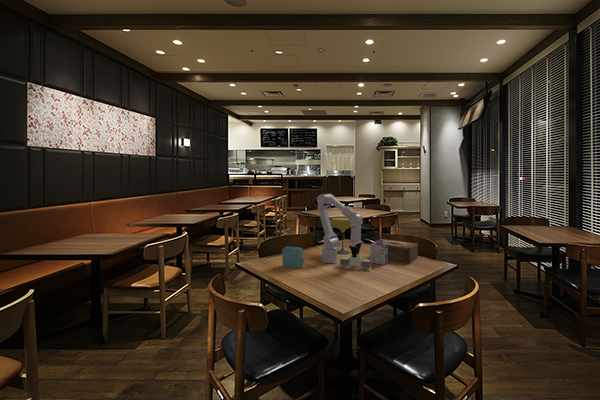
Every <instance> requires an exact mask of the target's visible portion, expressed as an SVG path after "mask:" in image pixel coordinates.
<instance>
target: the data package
mask: <svg viewBox="0 0 600 400" xmlns="http://www.w3.org/2000/svg"><path fill="white" fill-rule="evenodd" d="M281 252H282V255H281V256H282V267H284V268H291V269H299V270H300V269H301V268H302V267H303V266H304V249H303V247H300V246H299V247H298V246H290V245H289V246H288V245H287V246H285V247H283V248H282V251H281Z"/></svg>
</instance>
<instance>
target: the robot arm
mask: <svg viewBox="0 0 600 400" xmlns="http://www.w3.org/2000/svg"><path fill="white" fill-rule="evenodd" d="M316 202H317V211H318V215H319V217H320V218H319V219H320V221H321V224H322V228H323V232H324V236H323V238H322V239H323V248H322V250H321V263H328V264H334V265H335V264H337V263H338V262H340V259H338V254H337V251H338V246H339V245H340V239H339V238H338V236H337V234H336V233H335V231H334V230H333V227H332V226H333V225H332V224H331V223H330V217H329V213H328V207H330V205H333V206H335V207H336V208H337V209H338V210H340V211H341V214H342V215H343V217H347V218H348V219H349V221H350V223H351V227H350V243H351V244H350V245H349V246H348V247H349V249H350V254H351V255H352V257H353V258H356V256H358V255H359V254H360V251H361V247H362V246H363V245H362V244H363V243H364V242H363V240H361V239H362V233H361V232H362V222H363V220H364V219H363V216H362V215H363V214H361V213H358V212H356V210H353V209H352V208H351V206H348V205H346V206H345V205H344V204H343V203H342V202H340V201H339V200H338V199H337V198H336V197H335V195H333V194H332V193H326V194H324V193H323V194H321V193H320V194H319V195H318V196H317V199H316Z"/></svg>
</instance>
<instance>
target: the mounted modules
mask: <svg viewBox="0 0 600 400" xmlns="http://www.w3.org/2000/svg"><path fill="white" fill-rule="evenodd" d="M349 263H350V257H345V256H342V257H341V258H340V259H339V264H343V265H349ZM371 265H372V263H371V260H370V259H364V258H363V259H361V266H362V267H370V266H371Z"/></svg>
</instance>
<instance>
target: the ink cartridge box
mask: <svg viewBox="0 0 600 400" xmlns="http://www.w3.org/2000/svg"><path fill="white" fill-rule="evenodd" d="M376 241H377V243H373V242H371V244H370V256H369V258H370V259H369V260H371V264H377V265H383V266H385V265H388V261H389V259H388V244H382V243H383V240H380V239H377V240H376ZM378 241H381V242H378Z"/></svg>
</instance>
